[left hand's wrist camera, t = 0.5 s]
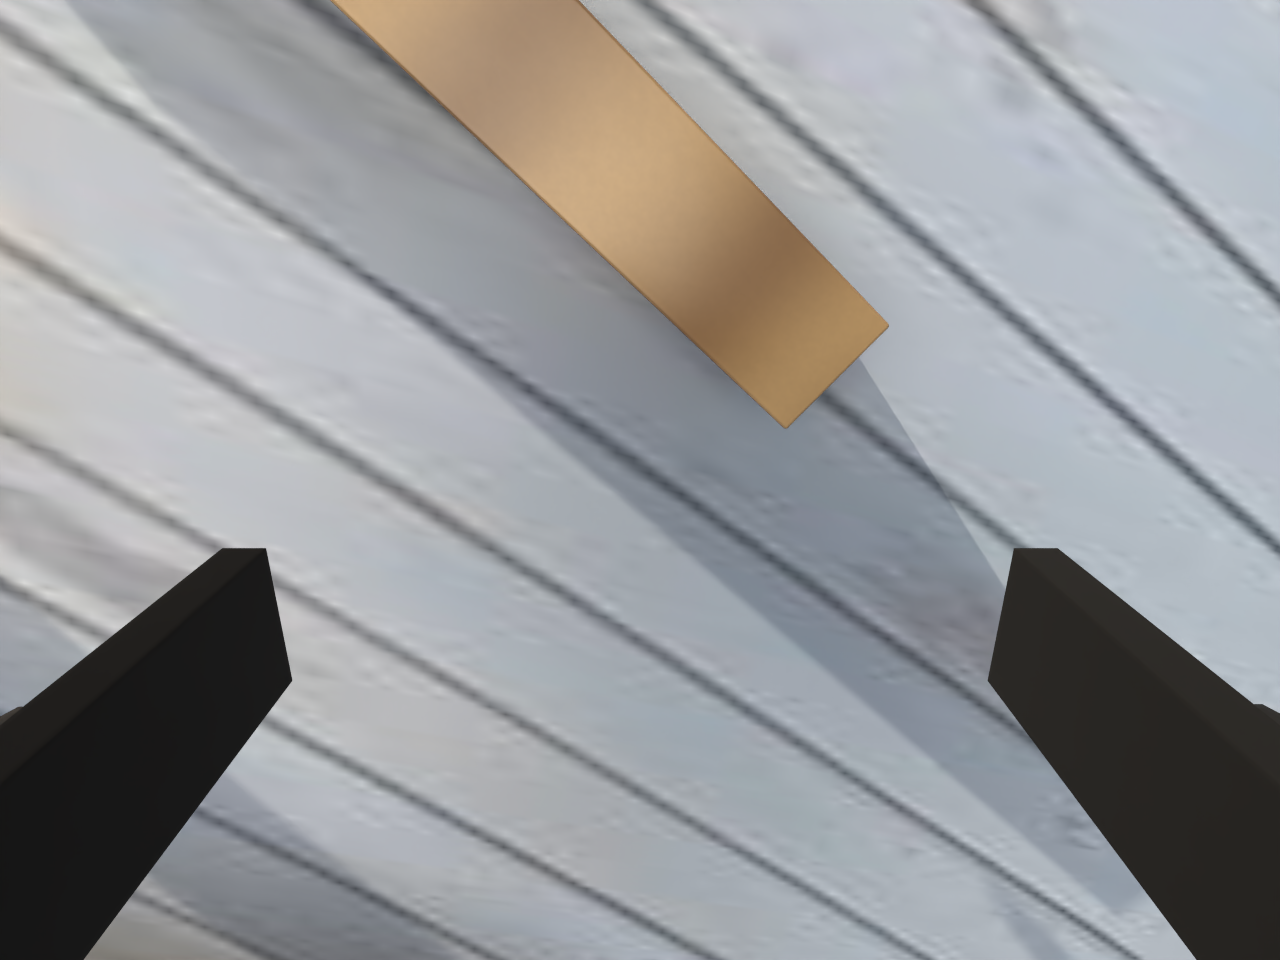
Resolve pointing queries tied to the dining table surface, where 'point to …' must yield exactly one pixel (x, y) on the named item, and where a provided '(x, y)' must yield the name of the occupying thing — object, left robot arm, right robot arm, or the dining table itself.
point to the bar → (636, 184)
